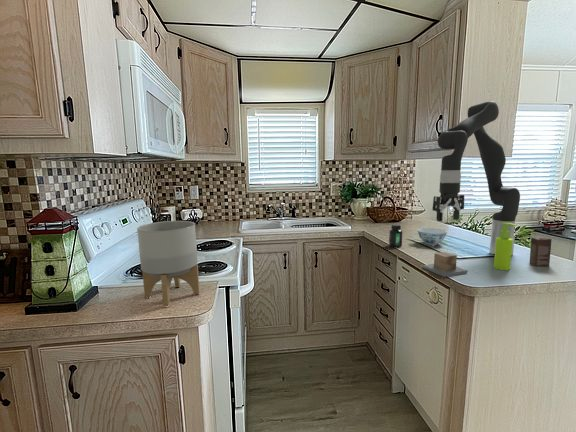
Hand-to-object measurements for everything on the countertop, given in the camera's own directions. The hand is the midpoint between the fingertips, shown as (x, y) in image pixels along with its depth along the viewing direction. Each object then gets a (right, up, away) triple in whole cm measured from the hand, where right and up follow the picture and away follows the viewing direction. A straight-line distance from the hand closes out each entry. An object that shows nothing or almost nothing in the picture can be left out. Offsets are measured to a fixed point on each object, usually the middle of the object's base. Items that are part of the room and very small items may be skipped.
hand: (447, 220), depth 132 cm
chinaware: (+15, -14, +48) cm, 52 cm away
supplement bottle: (-7, -15, +44) cm, 47 cm away
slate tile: (0, -22, +4) cm, 22 cm away
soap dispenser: (+26, -21, +5) cm, 34 cm away
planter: (-108, -27, -17) cm, 113 cm away
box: (+45, -20, +9) cm, 50 cm away
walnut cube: (0, -20, +3) cm, 21 cm away
